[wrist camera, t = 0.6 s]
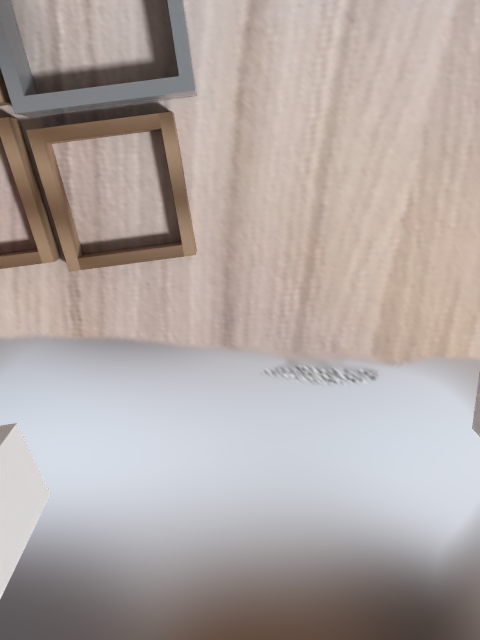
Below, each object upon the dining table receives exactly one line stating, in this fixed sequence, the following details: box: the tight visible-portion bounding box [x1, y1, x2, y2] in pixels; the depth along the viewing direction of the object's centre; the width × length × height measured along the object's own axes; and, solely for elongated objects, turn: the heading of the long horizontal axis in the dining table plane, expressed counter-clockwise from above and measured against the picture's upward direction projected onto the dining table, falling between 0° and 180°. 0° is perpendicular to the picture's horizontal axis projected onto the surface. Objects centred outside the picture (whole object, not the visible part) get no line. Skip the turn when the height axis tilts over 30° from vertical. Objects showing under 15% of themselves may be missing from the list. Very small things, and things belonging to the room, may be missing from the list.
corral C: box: [26, 112, 196, 272], centre depth 31 cm, size 11×11×2 cm
